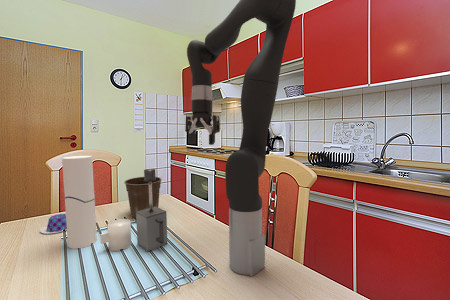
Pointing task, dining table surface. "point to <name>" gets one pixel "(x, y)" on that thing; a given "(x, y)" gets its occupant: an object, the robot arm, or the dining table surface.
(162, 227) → the box with side grip
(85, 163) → the container
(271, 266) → the dining table surface
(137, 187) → the plant pot
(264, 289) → the dining table surface
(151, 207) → the plunger
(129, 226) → the mug
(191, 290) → the dining table surface
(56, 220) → the purple hat
